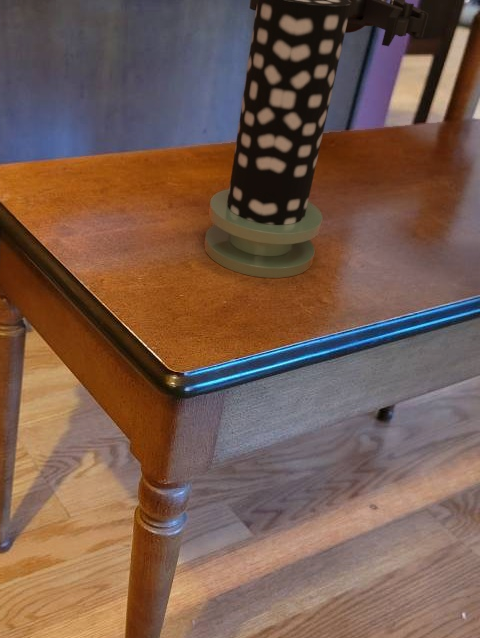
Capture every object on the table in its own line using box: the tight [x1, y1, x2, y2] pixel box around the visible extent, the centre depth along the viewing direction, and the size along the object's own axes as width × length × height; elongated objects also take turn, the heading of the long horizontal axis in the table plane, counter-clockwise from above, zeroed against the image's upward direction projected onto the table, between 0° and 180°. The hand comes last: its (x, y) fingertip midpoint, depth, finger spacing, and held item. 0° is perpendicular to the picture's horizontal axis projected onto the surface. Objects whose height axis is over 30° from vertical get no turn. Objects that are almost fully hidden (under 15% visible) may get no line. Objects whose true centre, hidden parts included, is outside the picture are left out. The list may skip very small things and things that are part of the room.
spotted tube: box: [227, 0, 351, 225], centre depth 72 cm, size 8×8×20 cm
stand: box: [203, 188, 324, 279], centre depth 80 cm, size 12×12×5 cm
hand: (324, 20), depth 79 cm, fingers open, 13 cm apart
